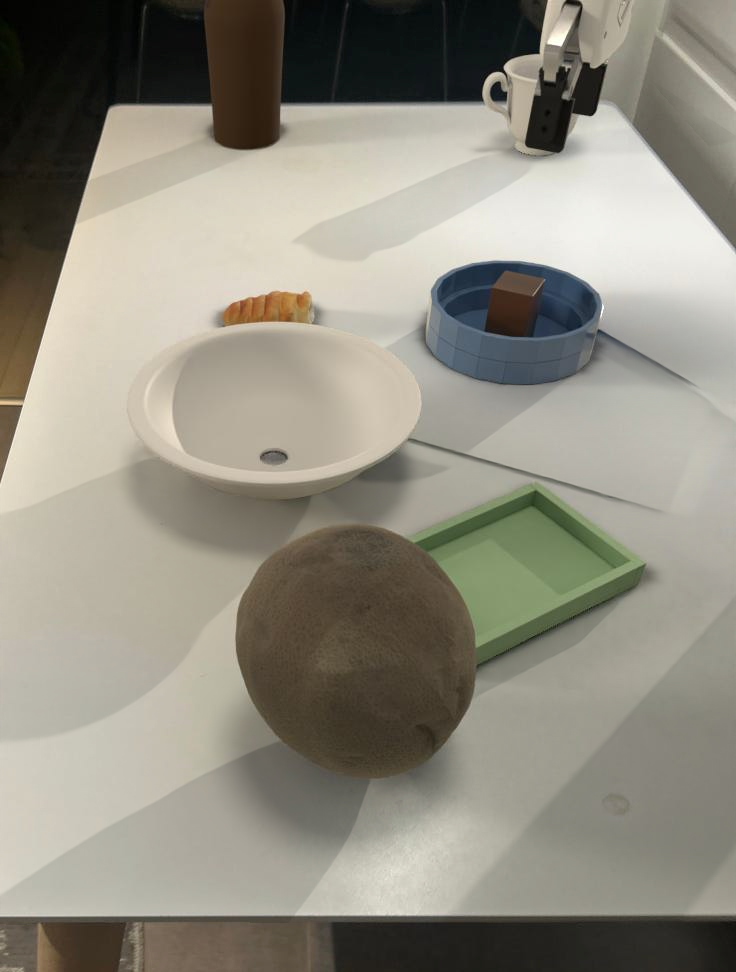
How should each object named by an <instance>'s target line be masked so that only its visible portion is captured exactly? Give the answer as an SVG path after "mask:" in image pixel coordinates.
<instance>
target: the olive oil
mask: <svg viewBox="0 0 736 972" xmlns="http://www.w3.org/2000/svg"><path fill="white" fill-rule="evenodd" d="M203 9H204V10H203V12H204V13H203V21H204V30H205V43H206V51H207V53H206V54H207V62H208V75H209V86H210V98H211V112H212V114H211V115H212V127H213V138H214V140H215V142H216V143H217V144H218V145H219V146H223V147H224V148H225V147H226V148H228V149H235V150H257V149H262V148H266V147H269V146H271V145H274V144H276V143H277V142H278V141H279V140H280V135H281V106H282V105H281V104H282V79H283V57H284V42H285V41H284V40H285V39H284V38H285V23H286V10H285V4H284V0H205V4H204V8H203Z"/></svg>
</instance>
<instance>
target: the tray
mask: <svg viewBox="0 0 736 972" xmlns="http://www.w3.org/2000/svg"><path fill="white" fill-rule="evenodd" d="M405 538H406V539H408V540H410V541H411V542H413V543H415V544H416V545H418V546H419V547H421V548H422V549H423V550H425V551H426V552H427V553H428V554H429V555H430V556H431V557H432V558H433V559H434V560H435V561H436V562H437V563H438V565H439V566H440V567H441V568H442V569H443V571H444V572H445V573H446V574H447V575H448V577H449V578H450V580H451V581H452V582H453V584H454V585H455V587H456V588H457V589H458V591H459V592H460V594H461V596H462V598H463V600H464V602H465V604H466V606H467V608H468V611H469V614H470V617H471V620H472V623H473V627H474V631H475V643H476V665H477V666H479V665H481V664H483V663H485V662H487V661H489V660H491V659H493V658H495V657H497V656H499V655H501V654H503V653H505V652H507V651H509V650H511V649H513V648H515V647H517V646H518V644H519V645H520V643H521V642H523V641H525V640H527V639H529V638H531V637H533V636H535V635H537V634H539V633H540V634H542V633H544V632H546V631H548V630H550V629H552V628H554V627H556V626H558V625H560V624H562V623H564V622H566V621H568V620H570V619H572V618H574V617H576V616H578V615H580V614H582V613H583V611H584V612H586V611H588V610H590V609H592V608H594V607H596V606H597V604H598V605H599V604H601V603H603V601H604V602H606V601H607V600H609V599H612V598H613V597H616V596H617V595H619V594H621V593H623V592H625V591H627V590H629V589H631V588H633V587H635V586H637V585H638V584H640V582H641V579H642V576H643V574H644V571H645V570H646V569H645V568H646V566H647V562H646V561H644V559H642V558H640V557H639V556H638V555H637V554H635V553H634V552H633V551H631V550H630V549H629V548H627V547H626V546H624V545H623V544H622V543H620V542H619V541H618V540H616V539H615V538H614V537H612V536H611V535H610V534H608V533H607V532H605V531H604V530H603V529H602V528H600V527H599V526H598V525H596V524H595V523H594V522H592V521H591V520H589V519H588V518H586V516H584V515H582V514H581V513H580V512H579V511H577V510H576V509H574V508H573V507H572V506H571V505H569V504H568V503H566V502H565V501H564V500H562V499H561V498H560V497H559V496H557V495H555V493H553V492H551V490H549V489H547V488H546V487H545V486H544V485H542V484H541V483H540V482H538V481H535V482H533V483H530V484H528V485H526V486H523V487H522V488H519V489H516V490H514V491H512V492H510V493H508V494H505V495H503V496H500V497H498V498H496V499H494V500H491V501H489V502H486V503H485V504H482V505H480V506H478V507H477V506H476V507H475V508H472V509H470V510H468V511H465V512H463V513H460V514H459V515H456V516H454V517H452V518H450V519H447V520H445V521H443V522H440V523H437V524H436V525H433V526H431V527H428V528H427V529H424V530H422V531H419V532H417V533H415V534H413V535H410V536H408V537H405ZM595 605H596V606H595ZM593 606H594V607H593ZM591 607H592V608H591ZM589 608H590V609H589ZM587 609H588V610H587ZM585 610H586V611H585ZM581 612H582V613H581ZM579 613H580V614H579ZM577 614H578V615H577ZM575 615H576V616H575ZM573 616H574V617H573ZM571 617H572V618H571ZM569 618H570V619H569ZM567 619H568V620H567ZM565 620H566V621H565ZM563 621H564V622H563ZM561 622H562V623H561ZM559 623H560V624H559ZM557 624H558V625H557ZM555 625H556V626H555ZM553 626H554V627H553ZM551 627H552V628H551ZM549 628H550V629H549ZM547 629H548V630H547ZM545 630H546V631H545ZM543 631H544V632H543ZM541 632H542V633H541ZM540 634H539V635H540ZM537 636H538V635H537ZM535 637H536V636H535ZM533 638H534V637H533ZM531 639H532V638H531ZM529 640H530V639H529ZM527 641H528V640H527ZM525 642H526V641H525ZM523 643H524V642H523ZM521 644H522V643H521ZM516 645H517V646H516ZM514 646H515V647H514ZM512 647H513V648H512ZM510 648H511V649H510ZM508 649H509V650H508ZM506 650H507V651H506ZM504 651H505V652H504ZM502 652H503V653H502ZM500 653H501V654H500ZM498 654H499V655H498ZM496 655H497V656H496ZM494 656H495V657H494ZM492 657H493V658H492ZM490 658H491V659H490ZM488 659H489V660H488ZM486 660H487V661H486ZM484 661H485V662H484ZM482 662H483V663H482ZM480 663H481V664H480ZM478 664H479V665H478Z"/></svg>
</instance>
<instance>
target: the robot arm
mask: <svg viewBox="0 0 736 972" xmlns="http://www.w3.org/2000/svg"><path fill="white" fill-rule="evenodd" d="M634 5H635V0H547V3H546V8H545V13H544V17H543V18H544V19H543V22H542V23H543V24H542V29H541V30H542V32H541V36H540V42H539V43H540V45H539V54H541V56H542V58H543V66H542V68H540V70H539V75H538V76H539V78H538V81H537V83H536V87H535V92H534V97H533V102H532V107H531V112H530V118H529V123H528V128H527V133H526V139H525V145H526V147H528V148H533V149H538V150H543V151H549V152H554V153H555V154H560V153H562V152H563V151H564V149H565V146H566V142H567V139H568V137H567V134H568V129H569V125H570V120H571V116H572V113H573V114H579V116H586V117H593V116H594V115H596V113H597V111H598V107H599V102H600V99H601V94H602V90H603V86H604V81H605V78H606V74H607V69H608V64H607V62H608V60H609V58H610V57H611V56H612V55H613V54H614V53H615V52H616V51H617V50H618V49H619V47H620V46H621V45H622V44H623V43H624V42H625V40H626V38H627V36H628V31H629V27H630V24H631V19H632V13H633V9H634ZM566 68H567V71H566ZM554 153H553V154H554Z"/></svg>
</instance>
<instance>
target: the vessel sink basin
mask: <svg viewBox="0 0 736 972" xmlns="http://www.w3.org/2000/svg"><path fill="white" fill-rule="evenodd" d="M422 406H423V403H422V394H421V390H420V387H419V384H418V381H417V380H416V378H415V376H414V374H413V373H412V371H411V370H410V369H409V368H408V366H407V364H405V363H404V362H403V361H402V360H401V359H400V358H399V357H398V356H396V355H395V354H393V353H392V352H391V351H389V350H388V349H386V348H385V347H383V346H381V345H379V344H377V343H375V342H373V341H371V340H370V339H368V338H365V337H362V336H360V335H357V334H354V333H352V332H348V331H345V330H341V329H338V328H334V327H329V326H325V325H319V324H313V323H312V324H306V323H295V322H257V323H246V324H238V325H232V326H226V327H225V326H222V327H217V328H213V329H209V330H206V331H203V332H200V333H196V334H194V335H191V336H189V337H186V338H184V339H181V340H179V341H177V342H175V343H173V344H172V345H169V346H168V347H166V348H164V349H163V350H161V351H160V352H158V353H157V354H156V355H154V356H153V357H152V358H151V359H149V360H148V361H147V362H146V363H145V364H144V365H143V367H142V368H141V369H139V371H138V373H137V374H136V375H135V377H134V378H133V380H132V382H131V384H130V386H129V389H128V393H127V399H126V414H127V417H128V421H129V423H130V426H131V428H132V430H133V431H134V433H135V435H136V437H137V438H138V440H140V442H141V443H142V445H144V446H145V447H146V449H148V450H149V451H150V452H151V453H152V454H154V455H155V456H156V457H158V458H159V459H161V460H162V461H164V462H165V463H167V464H169V465H170V466H173V467H175V468H177V469H178V470H180V471H183V472H184V473H186V474H187V475H189V477H192V478H194V479H195V480H197V481H199V482H200V483H202V484H204V485H206V486H208V487H210V488H213V489H214V490H218V491H221V492H224V493H227V494H229V495H234V496H238V497H243V498H248V499H255V500H257V499H258V500H290V499H292V500H293V499H298V498H303V497H309V496H313V495H317V494H320V493H323V492H326V491H329V490H332V489H335V488H337V487H338V486H341V485H342V484H345V483H347V482H349V481H350V480H352V479H354V478H355V477H357V476H358V475H360V474H361V473H363V472H364V471H366V470H368V469H370V468H372V467H374V466H376V465H378V464H380V463H381V462H383V461H385V460H386V459H388V458H389V457H390V456H392V455H393V454H394V453H396V452H397V451H398V450H399V449H400V448H402V446H403V445H404V444H405V443H406V442H407V441H408V440H409V438H410V437H411V436H412V434H413V433H414V431H415V430H416V427H417V425H418V423H419V421H420V417H421V414H422V408H423V407H422ZM269 452H280V453H283V454H285V456H286V457H287V460H285V461H284V462H283V463H281V464H267V463H265V462H264V461H262V460H261V457H262V455H263V454H265V453H269Z"/></svg>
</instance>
